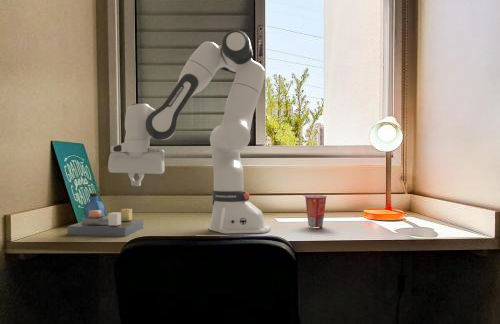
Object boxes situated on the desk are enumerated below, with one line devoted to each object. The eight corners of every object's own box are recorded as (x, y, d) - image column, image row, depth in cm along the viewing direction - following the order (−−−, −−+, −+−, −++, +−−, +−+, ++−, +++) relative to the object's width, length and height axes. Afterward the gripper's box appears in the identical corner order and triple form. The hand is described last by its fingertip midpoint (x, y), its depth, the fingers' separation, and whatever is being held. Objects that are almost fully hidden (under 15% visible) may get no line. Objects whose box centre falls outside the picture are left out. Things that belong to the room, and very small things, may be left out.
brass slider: (132, 219, 135) (132, 208, 135) (128, 220, 132) (128, 209, 132) (124, 219, 136) (124, 208, 136) (120, 220, 133) (120, 209, 133)
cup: (325, 225, 143) (325, 194, 143) (328, 229, 135) (328, 197, 135) (301, 224, 144) (301, 194, 144) (302, 228, 136) (302, 196, 136)
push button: (103, 217, 131) (103, 210, 131) (97, 219, 127) (97, 211, 127) (92, 217, 131) (92, 210, 131) (86, 218, 127) (86, 211, 127)
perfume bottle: (82, 224, 143) (82, 194, 143) (89, 222, 149) (89, 192, 149) (98, 224, 143) (98, 194, 143) (104, 222, 149) (104, 192, 149)
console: (143, 227, 137) (143, 214, 137) (125, 236, 121) (125, 221, 121) (92, 226, 139) (92, 213, 139) (67, 235, 123) (67, 220, 123)
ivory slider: (120, 224, 126) (120, 212, 126) (117, 225, 123) (117, 213, 123) (112, 223, 126) (112, 212, 126) (108, 225, 123) (108, 213, 123)
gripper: (167, 148, 136) (166, 186, 136) (114, 147, 138) (113, 184, 138) (162, 148, 129) (161, 187, 129) (106, 147, 131) (105, 185, 131)
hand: (136, 185), depth 134 cm, fingers closed
